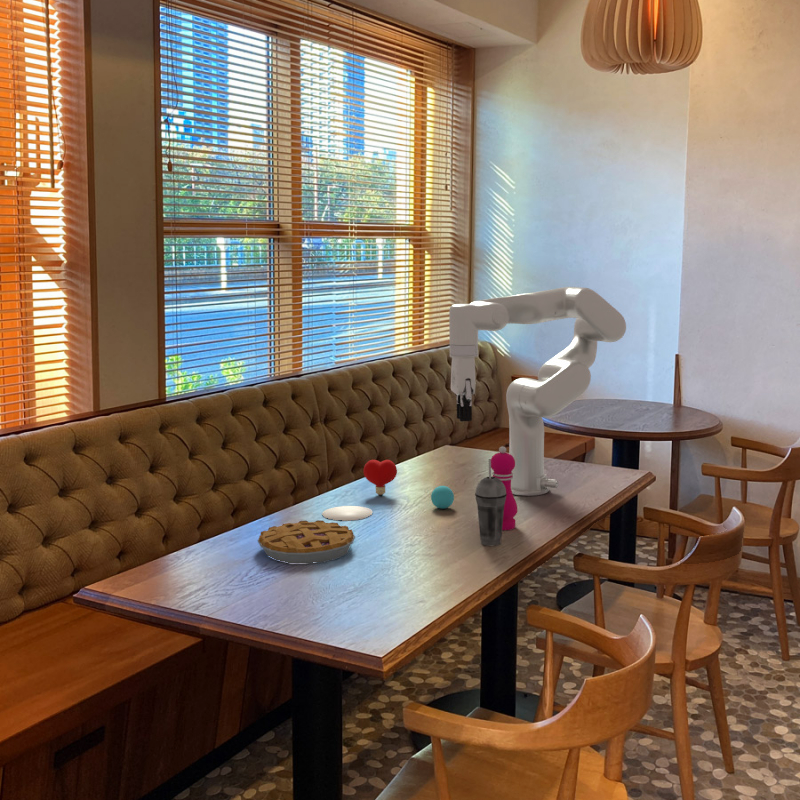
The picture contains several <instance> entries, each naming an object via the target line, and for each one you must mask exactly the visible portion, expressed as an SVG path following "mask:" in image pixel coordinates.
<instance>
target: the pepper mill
mask: <svg viewBox="0 0 800 800" xmlns="http://www.w3.org/2000/svg"><path fill="white" fill-rule="evenodd" d="M490 459H491V471H493V472H491V477H496V478H498V479H499V480H501V481H502V483H503V484H504V486H505V488H506V493H507V496H506V500H505V504H504V514H503V525H502V531H511V530H513V529H515V528H516V519H515V518H514V517H516V516H517V514H518V510H519V509H518V504H517V500H516V499H515V496H514V494H512V490H511V479H513V473H512V470H513V469H514V467H515V460H514V458H513V456H512V455H511V454H509V453H508V452H507V447H505V446H500V447H499V448H498V452H497V453H494V455H492V457H491V458H490Z"/></svg>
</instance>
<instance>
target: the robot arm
mask: <svg viewBox="0 0 800 800" xmlns="http://www.w3.org/2000/svg"><path fill="white" fill-rule="evenodd" d="M448 315H449V316H448V317H449V322H448V323H449V325H448V327H449V331H448V332H449V358H451V367H450V368H451V371H450V373H451V374H450V390H451V392H452V393H454V395H456V419H457V420H459V421H460V422H471V421H472V419H473V418H472V417H473V413H472V412H473V407H472V405H473V403H472V398H473V397H472V396H473V395H475V393H476V362H475V361H476V360H475V358H478V357H479V331H485V332H486V331H487V332H498V331H500V330H503V329H504V328H505V327H507V325H509V324H511V325H512V324H515V325H516V324H517V325H533V324H534V325H536V324H541V323H546V322H552V321H556V320H557V321H558V320H564V319H571V318H573V319H575V322H574V327H573V336H572V341H571V342H570V344H569V345H568V346H567V347H565V348H564V349H563V350H561V351H559V352H558V353H557V354H556V355H555V356H553V357H551V358H550V359H548V360H547V361H546V362H545V363H543V364H542V366H541V367H540V368H539V371H538V373H537V379H535V378H529V377H519V378H517V379H515V380H513V381H511V383H510V384H509V385H508V387H507V390H506V396H505V399H506V407H507V411H508V412H507V413H508V420H509V426H508V427H509V446H508V447H509V449H508V452H509V454H511V455H512V456H513V458H514V460H515V467H514V469H513V470H512V473H513V479H511V490H512V494H513V495H516V496H530V497H531V496H539V495H544V494H547V493H548V492H549V491H550V488H552V489H558V488H559V482H558V481H557V479H552V478H551V479H550V478H548V474H547V473H545V471H544V470H545V469H544V467H545V466H544V465H545V464H544V463H545V462H544V460H545V456H544V455H545V424H544V419H543V418H550V417H553V416H555V415H557V414H558V413H560V412H561V411H562V410H564V409H565V408H566V407H568V406H569V405H571V403H573V402H574V401H576V400H577V399H579V398H580V397H581V396H582V395H583V394H585V393H586V392H587V390H588V388H589V386H590V384H591V380H592V379H591V377H592V375H591V370H590V368H591V367H592V366H593V364H594V363H595V361H596V357H597V352H598V342H604V343H616V342H618V341H620V340H621V339H622V338H623V337H624V336H625V334H626V331H627V323H626V320H625V317H624V316H623V314H621V312H619V310H617V309H616V308H615V307H614V306H612V304H610V302H608V301H607V300H606V299H605V298H604V297H602V296H601V295H600V294H599V293H597V291H595V290H593V289H591V288H588V287H581V286H580V287H579V286H564V287H559V288H552V289H547V290H540V291H533V292H529V293H527V292H526V293H519V294H516V295H515V294H514V295H508V296H499V297H492V298H487V299H479V300H475V301H472V302H470V303H456V304H452V305H451V306H450V307H449V314H448Z"/></svg>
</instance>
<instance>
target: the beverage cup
mask: <svg viewBox="0 0 800 800" xmlns="http://www.w3.org/2000/svg"><path fill="white" fill-rule="evenodd" d="M474 495H475V496H474V497H475V500H476V501H475V503H476V504H477V507H476V508H477V515H478V516H477V517H478V527H479V528H478V529H479V538H480V544H481V545H483V546H486V545H487V546H488V547H494V546H495V545H496V546H499V545H500V544H501V543H502V536H503V535H502V534H503V533H502V532H503V530H502V525H503V514H504V504H505V500H506V496H507V493H506V488H505V486H504V484H503V483H502V481H501V480H499V479H498V478H496V477H492V468H491V458H489V459H488V476H485V477H484V478H482V479H481V480H480V481H479V482H478V484H477V486H476V488H475V493H474Z"/></svg>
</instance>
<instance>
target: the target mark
mask: <svg viewBox="0 0 800 800" xmlns="http://www.w3.org/2000/svg"><path fill="white" fill-rule="evenodd" d="M372 513H373V510H372V509H371V508H368V507H365V506H359V505H358V506H357V505H342V506H335V507H330V508H327V509H325V510H324V511H322V513H321V515H323V516H324V518H325V519H327V518H328V520H331V519H333V520H332V521H338V520H342V521H341V522H343V521H344V522H349V521H351V520H352V521H359V519H360V520H364V519H366V517H367V518H369V517H371V516H372V515H373V514H374V513H373V514H372ZM370 515H371V516H370ZM323 516H322V517H323ZM368 516H369V517H368Z"/></svg>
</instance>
